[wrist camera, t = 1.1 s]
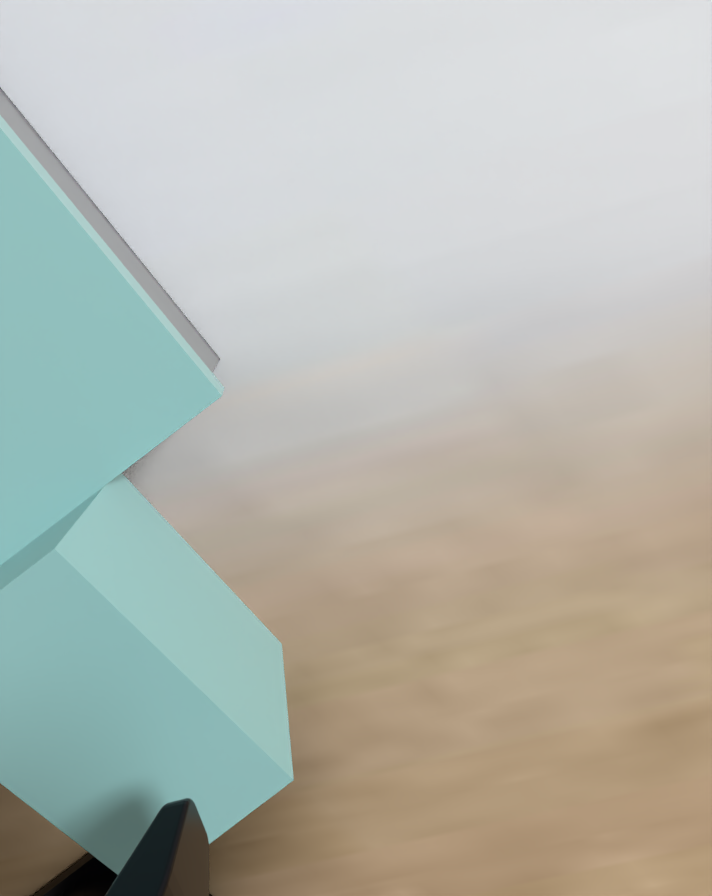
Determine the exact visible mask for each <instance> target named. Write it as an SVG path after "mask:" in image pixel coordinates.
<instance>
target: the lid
mask: <svg viewBox="0 0 712 896" xmlns="http://www.w3.org/2000/svg"><path fill="white" fill-rule="evenodd" d="M223 391H224V387H223V385H222V384H221V383H220V382H219V380H218V379H217V378H216V377H215V376H214V374H213V373H212V372H211V371H210V370H209V368H208V367H207V366H206V365H205V363H204V362H203V361H202V360H201V359H200V357H199V356H198V355H197V354H196V352H195V351H194V350H193V349H192V348H191V346H190V345H189V344H188V343H187V342H186V340H185V339H184V338H183V337H182V335H181V334H180V333H179V332H178V331H177V329H176V328H175V327H174V326H173V324H172V323H171V322H170V321H169V320H168V318H167V317H166V316H165V315H164V314H163V312H162V311H161V310H160V309H159V307H158V306H157V305H156V304H155V303H154V301H153V300H152V299H151V298H150V297H149V295H148V294H147V293H146V292H145V290H144V289H143V288H142V287H141V286H140V284H139V283H138V282H137V281H136V279H135V278H134V277H133V276H132V275H131V273H130V272H129V271H128V270H127V269H126V267H125V266H124V265H123V264H122V262H121V261H120V260H119V259H118V258H117V256H116V255H115V254H114V253H113V251H112V250H111V249H110V248H109V247H108V245H107V244H106V243H105V242H104V241H103V239H102V238H101V237H100V236H99V234H98V233H97V232H96V231H95V230H94V228H93V227H92V226H91V225H90V223H89V222H88V221H87V220H86V219H85V217H84V216H83V215H82V214H81V213H80V211H79V210H78V209H77V208H76V206H75V205H74V204H73V203H72V202H71V200H70V199H69V198H68V197H67V196H66V194H65V193H64V192H63V191H62V189H61V188H60V187H59V186H58V185H57V183H56V182H55V181H54V180H53V178H52V177H51V176H50V175H49V174H48V172H47V171H46V170H45V169H44V168H43V166H42V165H41V164H40V163H39V161H38V160H37V159H36V158H35V157H34V155H33V154H32V153H31V152H30V150H29V149H28V148H27V147H26V146H25V144H24V143H23V142H22V141H21V140H20V138H19V137H18V136H17V135H16V133H15V132H14V131H13V130H12V129H11V127H10V126H9V125H8V124H7V122H6V121H5V120H4V119H3V118H2V116H1V115H0V783H1V784H2V785H3V786H5V787H6V788H7V789H8V790H10V791H11V792H12V793H13V794H15V795H16V796H17V797H19V798H20V799H21V800H22V801H24V802H25V803H26V804H28V805H29V806H30V807H31V808H33V809H34V810H35V811H37V812H38V813H39V814H40V815H42V816H43V817H44V818H46V819H47V820H48V821H49V822H51V823H52V824H53V825H55V826H56V827H57V828H58V829H60V830H61V831H62V832H63V833H65V834H66V835H67V836H69V837H70V838H71V839H72V840H74V841H75V842H76V843H78V844H79V845H80V846H81V847H83V848H84V849H85V850H87V851H88V852H89V853H90V854H92V855H93V856H94V857H96V858H97V859H98V860H99V861H101V862H102V863H103V864H105V865H106V866H107V867H108V868H110V869H111V870H112V871H113V872H115V873H116V874H117V875H118V874H119V873H120V871H121V870H122V868H123V867H124V865H125V863H126V862H127V860H128V859H129V857H130V856H131V854H132V853H133V851H134V849H135V848H136V846H137V845H138V843H139V842H140V840H141V839H142V837H143V835H144V834H145V832H146V831H147V829H148V828H149V826H150V825H151V823H152V821H153V820H154V818H155V817H156V815H157V814H158V812H159V810H160V809H161V808H162V807H163V806H164V805H165V804H166V803H169V802H173V801H177V800H181V799H185V798H190V799H192V800H193V801H194V803H195V805H196V808H197V810H198V813H199V815H200V818H201V820H202V823H203V825H204V827H205V830H206V832H207V836H208V841H209V844H210V843H211V842H213V841H214V840H215V839H217V838H218V837H219V836H221V835H222V834H223V833H225V832H226V831H227V830H228V829H230V828H231V827H232V826H234V825H235V824H236V823H238V822H239V821H240V820H242V819H243V818H244V817H246V816H247V815H248V814H250V813H251V812H252V811H254V810H255V809H256V808H258V807H259V806H260V805H261V804H263V803H264V802H265V801H267V800H268V799H269V798H271V797H272V796H273V795H275V794H276V793H277V792H279V791H280V790H281V789H283V788H284V787H285V786H287V785H288V784H289V783H290V782H292V781H293V780H294V779H293V767H292V756H291V744H290V733H289V722H288V710H287V699H286V687H285V676H284V664H283V653H282V644H281V643H280V642H279V640H278V639H277V638H276V637H275V636H274V635H273V634H272V633H271V632H270V631H269V630H268V629H267V628H266V627H265V626H264V624H263V623H262V622H261V621H260V620H259V619H258V618H257V617H256V616H255V615H254V614H253V613H252V612H251V611H250V610H249V608H248V607H247V606H246V605H245V604H244V603H243V602H242V601H241V600H240V599H239V598H238V597H237V596H236V595H235V593H234V592H233V591H232V590H231V589H230V588H229V587H228V586H227V585H226V584H225V583H224V582H223V581H222V580H221V579H220V577H219V576H218V575H217V574H216V573H215V572H214V571H213V570H212V569H211V568H210V567H209V566H208V565H207V564H206V563H205V561H204V560H203V559H202V558H201V557H200V556H199V555H198V554H197V553H196V552H195V551H194V550H193V549H192V548H191V547H190V545H189V544H188V543H187V542H186V541H185V540H184V539H183V538H182V537H181V536H180V535H179V534H178V533H177V532H176V531H175V529H174V528H173V527H172V526H171V525H170V524H169V523H168V522H167V521H166V520H165V519H164V518H163V517H162V516H161V515H160V513H159V512H158V511H157V510H156V509H155V508H154V507H153V506H152V505H151V504H150V503H149V502H148V501H147V500H146V498H145V497H144V496H143V495H142V494H141V493H140V492H139V491H138V490H137V489H136V488H135V487H134V486H133V485H132V484H131V482H130V481H129V480H128V479H127V478H126V477H125V476H124V475H123V474H122V472H123V471H125V470H126V469H127V468H128V467H130V466H131V465H132V464H134V463H135V462H136V461H138V460H139V459H140V458H142V457H143V456H144V455H145V454H147V453H148V452H149V451H151V450H152V449H153V448H155V447H156V446H157V445H158V444H160V443H161V442H162V441H164V440H165V439H166V438H168V437H169V436H170V435H171V434H173V433H174V432H175V431H177V430H178V429H179V428H181V427H182V426H183V425H185V424H186V423H187V422H188V421H190V420H191V419H192V418H194V417H195V416H196V415H198V414H199V413H200V412H201V411H203V410H204V409H205V408H207V407H208V406H209V405H211V404H212V403H213V402H215V401H216V400H217V399H218V398H220V397H221V396H222V394H223Z"/></svg>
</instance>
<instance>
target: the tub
mask: <svg viewBox="0 0 712 896" xmlns="http://www.w3.org/2000/svg"><path fill="white" fill-rule="evenodd" d="M0 115H1V116H2V118H3V119H4V120H5V121H6V122H7V124H8V125H9V126H10V127H11V129H12V130H13V131H14V132H15V133H16V135H17V136H18V137H19V138H20V140H21V141H22V142H23V143H24V144H25V146H26V147H27V148H28V149H29V150H30V152H31V153H32V154H33V155H34V157H35V158H36V159H37V160H38V161H39V163H40V164H41V165H42V166H43V168H44V169H45V170H46V171H47V172H48V174H49V175H50V176H51V177H52V178H53V180H54V181H55V182H56V183H57V185H58V186H59V187H60V188H61V189H62V191H63V192H64V193H65V194H66V196H67V197H68V198H69V199H70V200H71V202H72V203H73V204H74V205H75V206H76V208H77V209H78V210H79V211H80V213H81V214H82V215H83V216H84V217H85V219H86V220H87V221H88V222H89V223H90V225H91V226H92V227H93V228H94V230H95V231H96V232H97V233H98V234H99V236H100V237H101V238H102V239H103V241H104V242H105V243H106V244H107V245H108V247H109V248H110V249H111V250H112V251H113V253H114V254H115V255H116V256H117V258H118V259H119V260H120V261H121V262H122V264H123V265H124V266H125V267H126V269H127V270H128V271H129V272H130V273H131V275H132V276H133V277H134V278H135V279H136V281H137V282H138V283H139V284H140V286H141V287H142V288H143V289H144V290H145V292H146V293H147V294H148V295H149V297H150V298H151V299H152V300H153V301H154V303H155V304H156V305H157V306H158V307H159V309H160V310H161V311H162V312H163V314H164V315H165V316H166V317H167V318H168V320H169V321H170V322H171V323H172V324H173V326H174V327H175V328H176V329H177V331H178V332H179V333H180V334H181V335H182V337H183V338H184V339H185V340H186V342H187V343H188V344H189V345H190V346H191V348H192V349H193V350H194V351H195V352H196V354H197V355H198V356H199V357H200V359H201V360H202V361H203V362H204V363H205V365H206V366H207V367H208V368H209V370H210V371H211V372H212V373H213V371H214V369H215V367H216V366H217V364H218V362H219V360H220V358H219V357H218V356H217V354H216V353H215V352H214V351H213V349H212V348H211V347H210V346H209V345H208V343H207V342H206V341H205V340H204V338H203V337H202V336H201V335H200V333H199V332H198V331H197V330H196V328H195V327H194V326H193V325H192V324H191V322H190V321H189V320H188V319H187V317H186V316H185V315H184V314H183V312H182V311H181V310H180V309H179V307H178V306H177V305H176V304H175V303H174V301H173V300H172V299H171V298H170V296H169V295H168V294H167V293H166V291H165V290H164V289H163V288H162V286H161V285H160V284H159V283H158V282H157V280H156V279H155V278H154V277H153V275H152V274H151V273H150V272H149V270H148V269H147V268H146V267H145V265H144V264H143V263H142V262H141V261H140V259H139V258H138V257H137V256H136V254H135V253H134V252H133V251H132V249H131V248H130V247H129V246H128V245H127V243H126V242H125V241H124V240H123V238H122V237H121V236H120V235H119V233H118V232H117V231H116V230H115V228H114V227H113V226H112V225H111V224H110V222H109V221H108V220H107V219H106V217H105V216H104V215H103V214H102V212H101V211H100V210H99V209H98V207H97V206H96V205H95V204H94V203H93V201H92V200H91V199H90V198H89V196H88V195H87V194H86V193H85V191H84V190H83V189H82V188H81V186H80V185H79V184H78V183H77V182H76V180H75V179H74V178H73V177H72V175H71V174H70V173H69V172H68V170H67V169H66V168H65V167H64V165H63V164H62V163H61V162H60V161H59V159H58V158H57V157H56V156H55V154H54V153H53V152H52V151H51V149H50V148H49V147H48V146H47V144H46V143H45V142H44V141H43V140H42V138H41V137H40V136H39V135H38V133H37V132H36V131H35V130H34V128H33V127H32V126H31V125H30V123H29V122H28V121H27V120H26V119H25V117H24V116H23V115H22V114H21V112H20V111H19V110H18V109H17V107H16V106H15V105H14V104H13V102H12V101H11V100H10V99H9V98H8V96H7V95H6V94H5V93H4V91H3V90H2V89H1V88H0Z"/></svg>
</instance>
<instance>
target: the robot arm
mask: <svg viewBox="0 0 712 896" xmlns="http://www.w3.org/2000/svg"><path fill="white" fill-rule="evenodd" d="M33 896H212V895H211V894H209V841H208V836H207V832H206V830H205V827H204V825H203V823H202V820H201V818H200V815H199V813H198V810H197V808H196V805H195V803H194V801H193V800H192V799H190V798H185V799H181V800H177V801H173V802H169V803H166V804H165V805H164V806H163V807H162V808H161V809H160V810H159V812H158V814H157V815H156V817H155V818H154V820H153V821H152V823H151V825H150V826H149V828H148V829H147V831H146V832H145V834H144V835H143V837H142V839H141V840H140V842H139V843H138V845H137V846H136V848H135V849H134V851H133V853H132V854H131V856H130V857H129V859H128V860H127V862H126V863H125V865H124V867H123V868H122V870H121V871H120V873H119V874H118V875H117V874H116V873H115V872H113V871H112V870H111V869H110V868H108V867H107V866H106V865H105V864H103V863H102V862H101V861H99V860H98V859H97V858H96V857H94V856H93V855H92V854H90V853H89V854H87V855H86V856H85V857H83V858H82V859H81V860H79V861H78V862H77V863H75V864H74V865H73V866H72V867H70V868H69V869H68V870H66V871H65V872H64V873H62V874H61V875H60V876H58V877H57V878H56V879H54V880H53V881H52V882H50V883H49V884H48V885H47V886H45V887H44V888H43V889H41V890H40V891H39V892H37V893H36V894H35V895H33Z"/></svg>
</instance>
